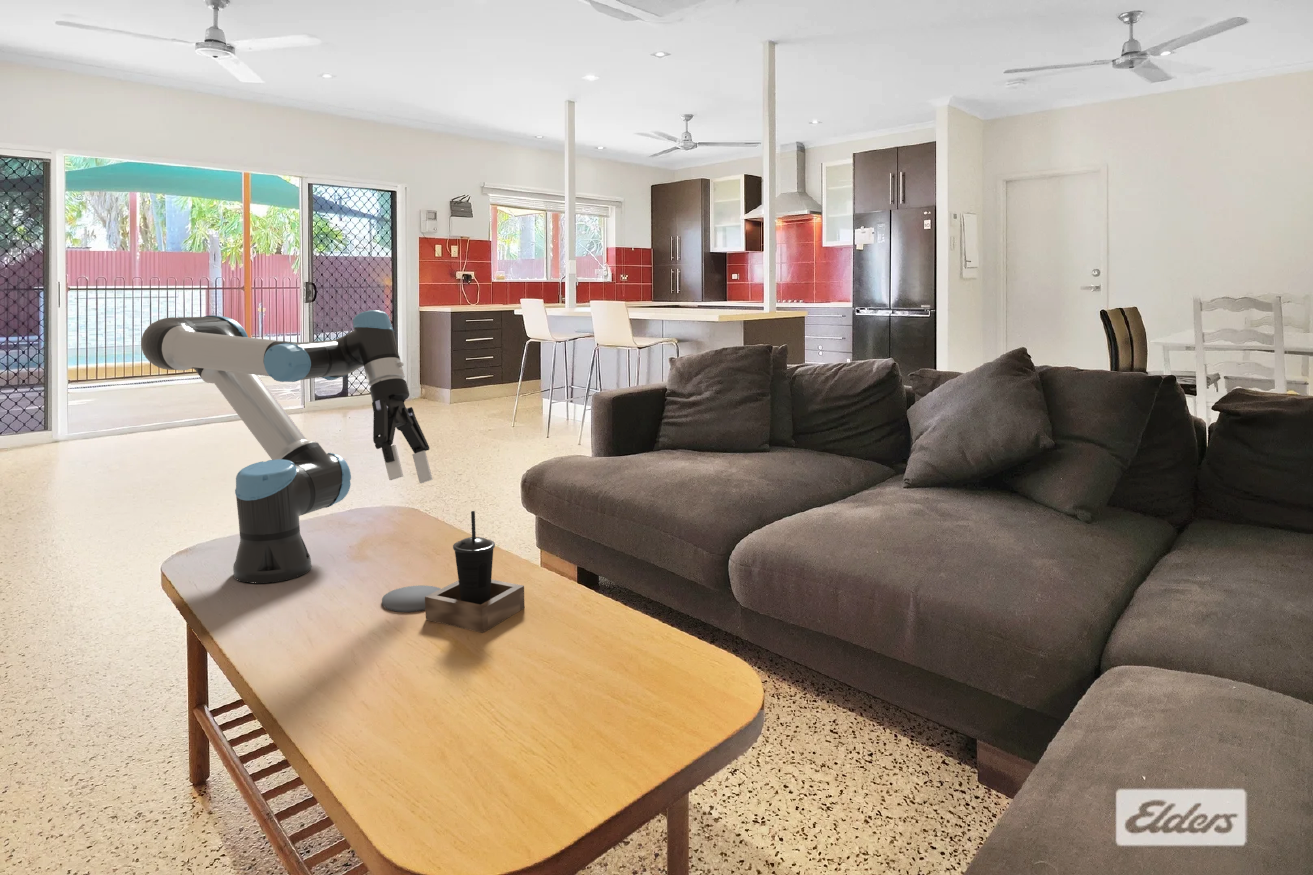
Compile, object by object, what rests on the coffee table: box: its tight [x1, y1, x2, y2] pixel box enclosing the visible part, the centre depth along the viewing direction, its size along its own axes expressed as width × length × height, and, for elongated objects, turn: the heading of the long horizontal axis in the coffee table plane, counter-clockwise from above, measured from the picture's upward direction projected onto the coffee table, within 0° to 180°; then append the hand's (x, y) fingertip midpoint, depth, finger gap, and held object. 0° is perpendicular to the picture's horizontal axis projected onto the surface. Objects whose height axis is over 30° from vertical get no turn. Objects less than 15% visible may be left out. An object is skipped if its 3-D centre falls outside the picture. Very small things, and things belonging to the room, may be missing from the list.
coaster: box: [381, 585, 442, 613], centre depth 162 cm, size 12×12×1 cm
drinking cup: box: [452, 510, 496, 605], centre depth 154 cm, size 8×8×20 cm
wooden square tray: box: [424, 578, 525, 634], centre depth 156 cm, size 13×13×4 cm
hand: (411, 480), depth 170 cm, fingers open, 13 cm apart
